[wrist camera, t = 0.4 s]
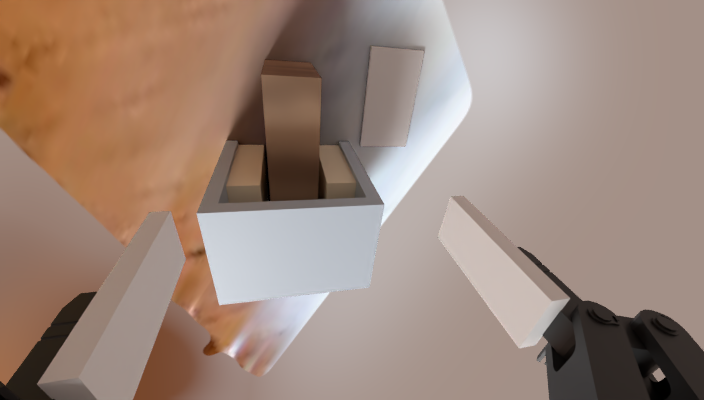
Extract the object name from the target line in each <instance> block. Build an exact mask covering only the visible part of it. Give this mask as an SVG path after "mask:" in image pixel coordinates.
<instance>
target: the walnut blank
mask: <svg viewBox="0 0 704 400" xmlns="http://www.w3.org/2000/svg"><path fill="white" fill-rule="evenodd" d="M261 82H262V95H263V108H264V122H265V135H266V148H267V161H268V174H269V188H270V201H292V200H317V199H318V181H319V148H320V115H321V82H322V78H321V77H320V75H319V74H318V72H317V71H316V70H315V68H314V67H313V65H312V64H311V63H309V62H295V61H281V60H267V59H265V62H264V65H263V69H262V73H261Z"/></svg>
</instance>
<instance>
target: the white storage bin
mask: <svg viewBox="0 0 704 400" xmlns="http://www.w3.org/2000/svg"><path fill="white" fill-rule="evenodd" d="M383 209H384V203H383V201H382V200H381V198H380V196H379V194H378V193H377V191H376V189H375V187H374V185H373V184H372V182H371V180H370V178H369V177H368V175H367V173H366V171H365V170H364V168H363V166H362V164H361V163H360V161H359V159H358V157H357V155H356V154H355V152H354V150H353V148H352V147H351V145H350V143H349V141H339V145H320V148H319V181H318V199H317V200H292V201H269V199H268V187H267V174H266V162H265V149H264V145H238V141H226V143H225V145H224V148H223V150H222V153H221V155H220V158H219V160H218V162H217V165H216V167H215V170H214V172H213V175H212V177H211V180H210V182H209V185H208V187H207V189H206V192H205V194H204V197H203V199H202V202H201V204H200V207H199V209H198V212H197V217H198V221H199V225H200V229H201V233H202V237H203V241H204V245H205V249H206V253H207V257H208V261H209V265H210V269H211V273H212V277H213V281H214V285H215V289H216V294H217V298H218V302H219V305H224V304H233V303H241V302H250V301H258V300H267V299H275V298H283V297H292V296H300V295H309V294H317V293H326V292H334V291H342V290H351V289H358V288H368V287H369V286H370V281H371V276H372V270H373V264H374V259H375V252H376V248H377V242H378V236H379V231H380V226H381V220H382V215H383Z"/></svg>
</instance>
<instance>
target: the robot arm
mask: <svg viewBox="0 0 704 400" xmlns="http://www.w3.org/2000/svg"><path fill="white" fill-rule="evenodd" d="M438 238H439V239H440V241H441V242H442V243H443V245H444V246H445V248H446V249H447V250H448V251H449V253H450V254H451V256H452V257H453V259H454V260H455V261H456V263H457V264H458V265H459V267H460V268H461V269H462V271H463V272H464V274H465V275H466V276H467V278H468V279H469V281H470V282H471V283H472V284H473V286H474V287H475V289H476V290H477V292H478V293H479V294H480V296H481V297H482V298H483V299H484V301H485V302H486V304H487V305H488V307H489V308H490V309H491V311H492V312H493V313H494V315H495V316H496V318H497V319H498V320H499V322H500V323H501V324H502V326H503V327H504V329H505V330H506V331H507V333H508V334H509V335H510V337H511V338H512V339H513V341H514V342H515V344H516V345H517V346H518V347H519V348H523V347H529V346H533V345H536V344H537V342H538V341H539V340H540V338H541V337H542V336H544V337H545V339H546V340H547V341H548V344H547V345H546V346H545V347H544V349H543V350H542V351H541V352H540V354H539V355H538V357H537V361H539V362H540V361H541V360H542V359H543V358H544V356H546V362H545V365H547V376H548V389H549V400H704V351H703V350H702V349H701V348H700V347H699V345H698V344H697V343H696V342H695V341H694V340H693V338H691V336H690V335H689V334H688V333H687V331H685V329H684V328H683V327H681V326H680V325H679V324H678V323H677V322H675V321H674V320H672V319H671V318H669V317H668V316H665V315H663V314H661V313H658V312H655V311H652V310H643V311H640V312H639V313H638V314H637V315H636V316H635V318H629V317H623V316H616V315H615V314H614V313H613V312H612V311H610V310H609V309H607V308H606V307H604V306H602V305H600V304H598V303H594V302H591V301H582V300H581V299H580V298H579V297H577V296H576V295H575V294H574V293H573V292H572V291H571V290H570V289H569V288H568V287H567V286H566V285H565V284H564V283H563V282H562V281H560V280H559V279H558V278H557V277H556V276H555V275H554V274H553V273H551V272H550V270H549V269H548V268H546V267H545V266H544V265H542V263H541V262H540V261H539V260H538V259H537V258H536V257H535V256H534V255H532V254H531V253H529V252H527V251H526V250H524V249H523V248H521V247H516V246H515V245H514V244H513V243H512V242H511V241H510V240H509V239H508V238H507V237H506V236H505V235H504V234H503V233H502V232H501V231H499V229H498V228H497V227H495V226H494V225H493V224H492V223H491V222H490V221H489V220H488V219H487V218H486V217H485V216H484V215H483V214H482V213H481V212H480V211H479V210H478V209H477V208H476V207H475V206H474V205H473V204H471V203H470V202H469V201H468V200H467V199H466V198H465V197H464V196H454V197H453V196H452V197H450V200H449V203H448V207H447V210H446V213H445V216H444V220H443V223H442V226H441V229H440V232H439V235H438ZM185 260H186V258H185V255H184V252H183V249H182V246H181V243H180V240H179V236H178V233H177V230H176V227H175V224H174V221H173V217H172V214H171V211H162V212H149V214H148V215H147V217H146V219H145V220H144V222H143V223H142V225H141V226H140V228H139V229H138V231H137V232H136V234H135V235H134V237H133V238H132V240H131V241H130V243H129V244H128V246H127V248H126V249H125V251H124V252H123V254H122V255H121V257H120V259H119V260H118V261H117V263H116V264H115V266H114V268H113V269H112V270H111V272H110V273H109V275H108V277H107V278H106V280H105V281H104V283H103V284H102V286H101V287H100V289H99V290H98V292H90V293H81V294H79V295H78V296H77V297H76V298H74V299H73V300H72V301H71V302H70V303H68V304H67V305H66V306H65V307H64V308H62V310H61V311H60V312H59V314H58V315H57V317H56V318H55V319H54V321H53V322H52V323H51V327H49V328H48V329H47V330H46V331H45V333H44V334H43V336H42V337H41V341H38V342H37V344H36V345H35V346H34V348H33V349H32V350H31V352H30V353H29V355H28V356H27V357H26V359H25V360H24V361H23V363H22V364H21V366H20V367H19V368H18V369H17V371H16V372H15V373H14V375H13V376H12V378H11V379H10V380H9V382H8V383H7V384H6V386H5V385H4V384H3V383H2V382H1V381H0V400H133V397H134V395H135V392H136V390H137V387H138V384H139V382H140V379H141V377H142V374H143V371H144V369H145V366H146V363H147V361H148V358H149V355H150V353H151V350H152V347H153V345H154V342H155V339H156V337H157V334H158V331H159V329H160V326H161V324H162V321H163V318H164V315H165V313H166V310H167V308H168V305H169V302H170V300H171V297H172V295H173V292H174V289H175V287H176V284H177V281H178V279H179V276H180V273H181V271H182V268H183V265H184V263H185ZM658 368H660V369H661V370H662V372H663V374H664V375H665V376H666V377H665V378H664V379H663V380H661V381H659V382H658V381H657V380H656V379H655V377H654V376H653V374H652V373H653V372H654V371H655V370H657V369H658Z"/></svg>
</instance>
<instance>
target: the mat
mask: <svg viewBox="0 0 704 400" xmlns="http://www.w3.org/2000/svg"><path fill="white" fill-rule="evenodd" d="M424 52H425V51H423V50H411V49H400V48H389V47H378V46H371V49H370V58H369V67H368V76H367V85H366V94H365V103H364V112H363V121H362V130H361V139H360V146H367V147H405V146H406V141H407V136H408V131H409V126H410V121H411V116H412V111H413V106H414V101H415V97H416V92H417V87H418V82H419V77H420V72H421V67H422V62H423V57H424Z"/></svg>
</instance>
